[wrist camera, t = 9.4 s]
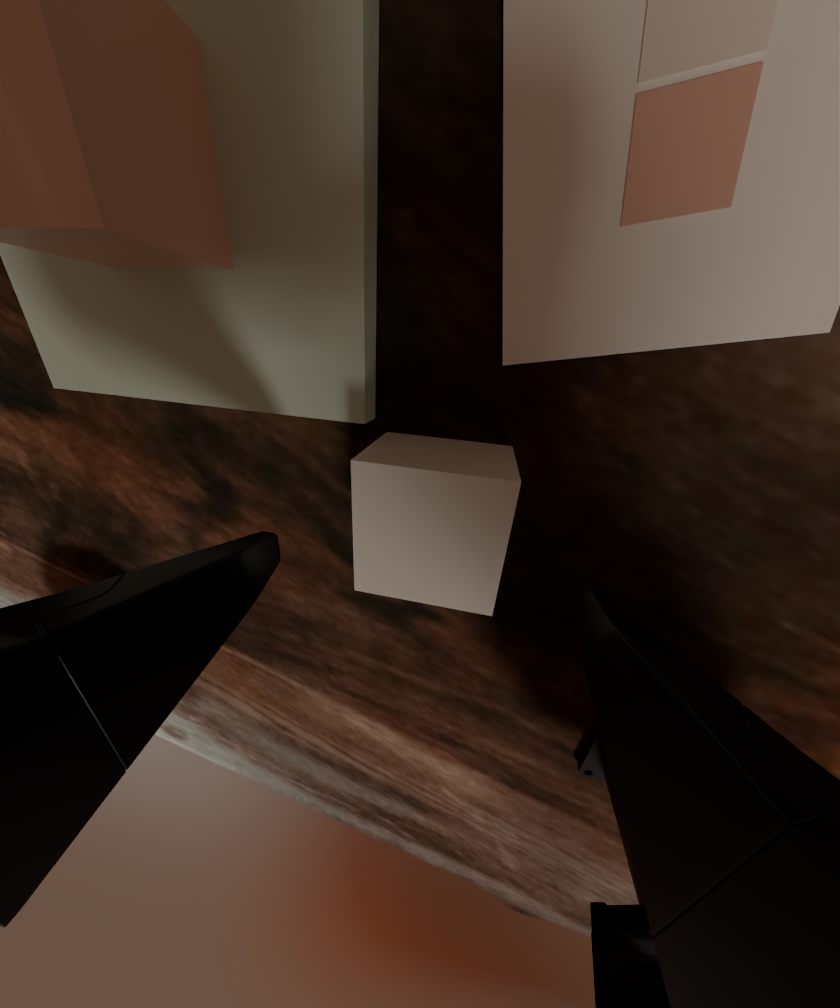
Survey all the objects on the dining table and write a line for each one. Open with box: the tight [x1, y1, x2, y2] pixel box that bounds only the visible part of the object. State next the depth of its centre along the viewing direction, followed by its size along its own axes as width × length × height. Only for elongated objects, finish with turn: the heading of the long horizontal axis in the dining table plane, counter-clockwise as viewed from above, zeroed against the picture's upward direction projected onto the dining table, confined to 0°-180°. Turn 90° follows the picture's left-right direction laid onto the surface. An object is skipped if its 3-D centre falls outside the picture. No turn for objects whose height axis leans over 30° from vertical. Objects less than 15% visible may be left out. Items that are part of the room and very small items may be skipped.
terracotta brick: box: [0, 0, 234, 270], centre depth 8 cm, size 5×5×4 cm
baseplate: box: [0, 0, 379, 424], centre depth 10 cm, size 14×14×1 cm
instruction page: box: [503, 0, 840, 365], centre depth 8 cm, size 12×9×1 cm
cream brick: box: [351, 432, 521, 616], centre depth 12 cm, size 5×5×4 cm
